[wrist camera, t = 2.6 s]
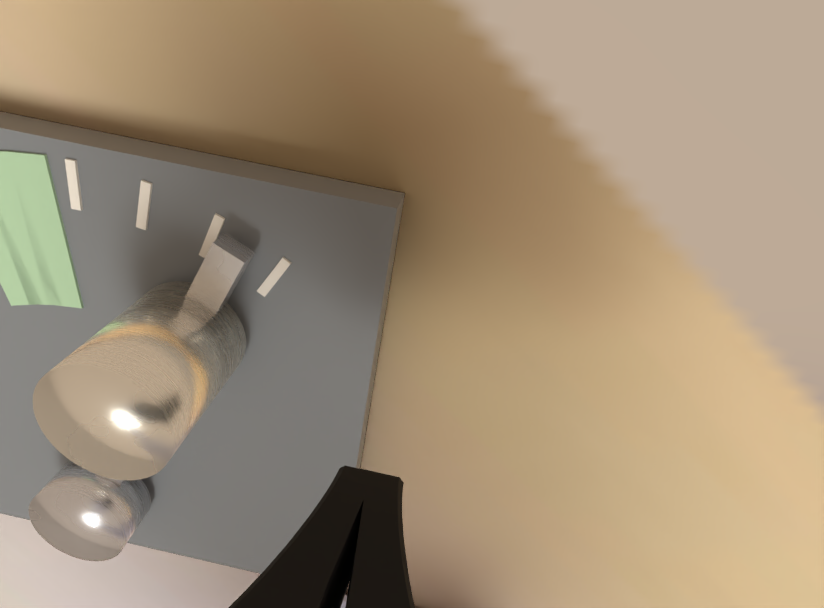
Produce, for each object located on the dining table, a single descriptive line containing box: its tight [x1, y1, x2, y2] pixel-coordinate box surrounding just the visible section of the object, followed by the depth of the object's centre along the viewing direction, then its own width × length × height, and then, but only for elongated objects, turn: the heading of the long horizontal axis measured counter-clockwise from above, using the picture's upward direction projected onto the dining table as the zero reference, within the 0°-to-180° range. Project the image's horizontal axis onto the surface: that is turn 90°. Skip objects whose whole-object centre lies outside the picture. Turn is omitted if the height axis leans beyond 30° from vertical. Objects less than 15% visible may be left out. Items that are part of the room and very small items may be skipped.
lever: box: [29, 233, 255, 561], centre depth 17 cm, size 15×4×5 cm, turn 147°
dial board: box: [0, 111, 405, 574], centre depth 21 cm, size 17×19×2 cm
